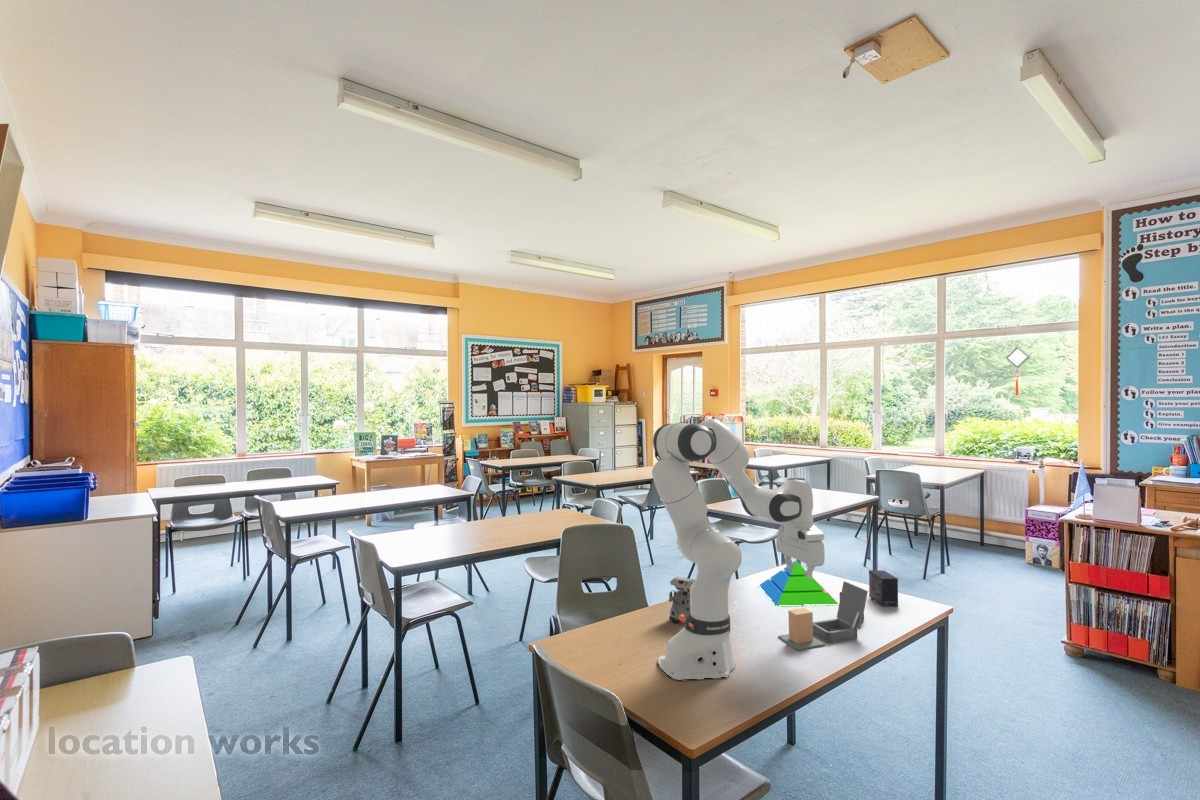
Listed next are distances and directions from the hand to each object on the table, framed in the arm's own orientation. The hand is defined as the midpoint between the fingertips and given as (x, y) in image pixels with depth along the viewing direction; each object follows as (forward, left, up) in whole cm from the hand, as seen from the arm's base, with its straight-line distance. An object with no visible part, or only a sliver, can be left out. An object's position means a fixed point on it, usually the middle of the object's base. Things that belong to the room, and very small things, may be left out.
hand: (799, 573), depth 176 cm
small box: (+51, +20, -22) cm, 59 cm away
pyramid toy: (+25, +37, -23) cm, 50 cm away
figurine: (-27, +27, -22) cm, 44 cm away
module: (0, 0, -21) cm, 21 cm away
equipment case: (+15, +1, -22) cm, 27 cm away
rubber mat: (0, 0, -22) cm, 22 cm away
